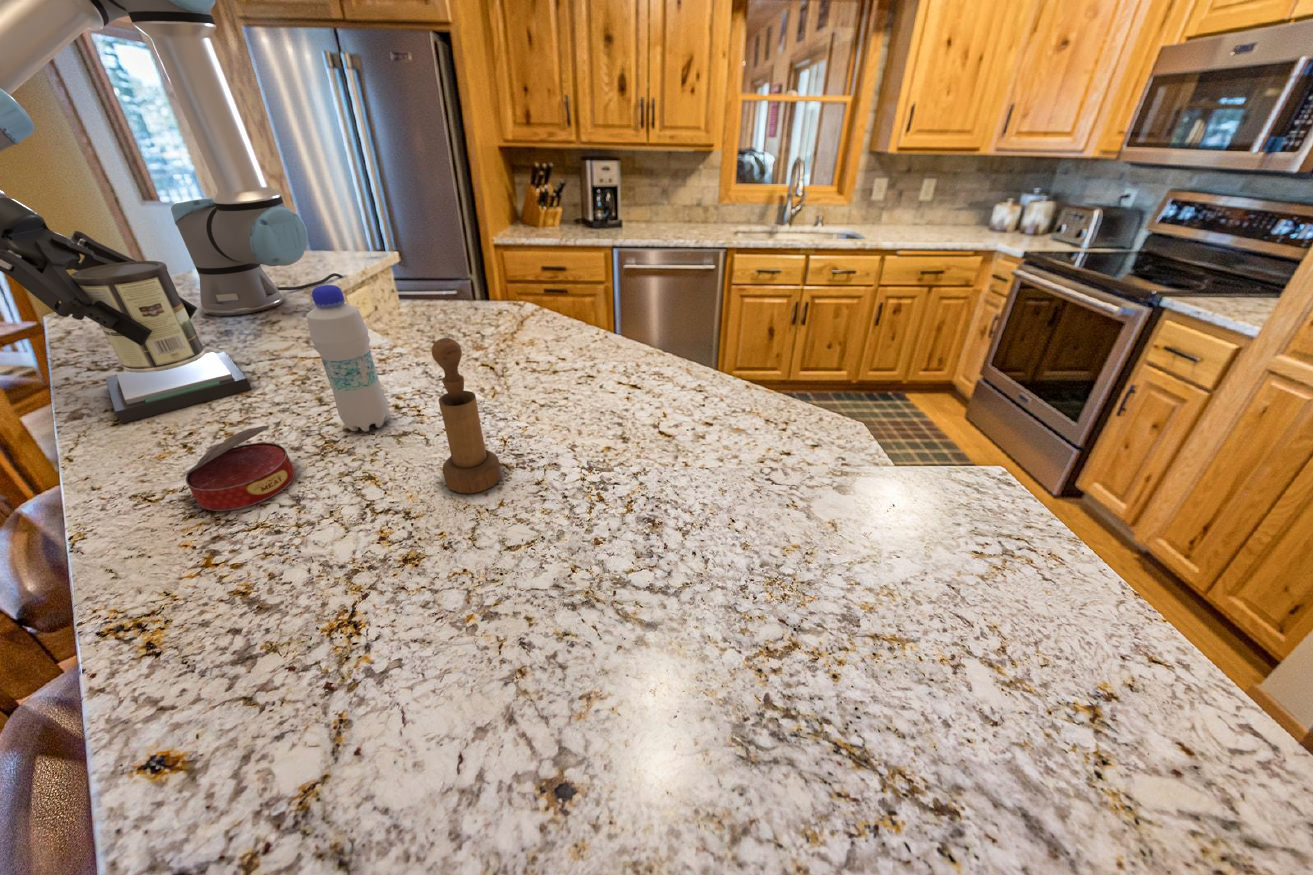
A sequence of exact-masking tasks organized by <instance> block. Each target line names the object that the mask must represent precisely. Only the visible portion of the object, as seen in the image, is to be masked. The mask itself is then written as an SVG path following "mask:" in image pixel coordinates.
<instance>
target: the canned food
mask: <svg viewBox="0 0 1313 875" xmlns="http://www.w3.org/2000/svg"><path fill="white" fill-rule="evenodd" d="M269 428H270V425H261V426H258V427H257V426H256V427H251V428H247V429H244V430H241V431H238V432H237V433H235V434H232V435H230V436H229V437H228V438H227V439H225V440H224V441H223V442H221V443H217V444H213V445H212V447H211V448H209V449H208V450H207V451H206V452H205V453H204V455H202V456H201V457H200V459H199V460H198V462H197V463H196V464H195V465H193V466H192V467H191V468H190V469H188V470H186V471H185V472H183V473H182V475H181V476H179V478H183V477H185V484H186V485H187V486H188V488H189V489H190V491H191V493H192V495H193V497H194V498H195V500H196V502H197V505H198V506H200V507H201V508H202V509H205V510H208V511H213V512H226V511H234V510H241V509H244V508H247V507H251V506H254V505H256V504H260V503H262V502H265V501H267V500H268V499H271V498H273V497H275V496H276V495H279V494H280V493H281V492H282V491H284V490H285V489H286V488H287V487H288V486H290V485H291V483H292V482H293V481H294V478H295V476H296V470H295V469H294V467H293V464H292V462H291V460H290V457H289V455H288V453H287V449H286V448H284V447H283V446H282V445H280V444H278V443H273V442H253V443H247V444H242V443H245V442H246V441H248V440H250V439H252V438H254V437H256V436H257V435H259V434H260V433H263V432H265V431H266V430H268V429H269Z"/></svg>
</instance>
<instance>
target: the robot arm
mask: <svg viewBox="0 0 1313 875" xmlns="http://www.w3.org/2000/svg"><path fill="white" fill-rule="evenodd" d="M215 4H216V0H0V152H2V151H4V150H6V149H8V148H11V147H13V146H14V145H16V146H18V145H19V144H20V143H21V142H22V141H23V140H26V139H27V138H28V137H30V136H32V135H33V134H34V132H35V125H34V122H33V120H32V118H31V116H30V115H29V114H28V112H27V111H26V110H25V109H24V108H23V106H21V105H20V104H19V102H17V100H16V99H15V98H13V97H12V96H11V95H12V94H13V93H14V92H15V91H16V90H18V89H19V88H20V87H21V86H22V85H23V84H25V83H26V82H27V81H28V80H30V79H31V78H32V77H33V76H34V75H35V74H37V73H38V72H39V71H40V70H41V69H42V68H44V66H46V65H47V64H48V63H49V62H50V61H51V60H53V59H54V58H55V57H56V56H58V55H59V54H60V53H61V52H62V51H63V50H65V49H66V48H67V47H68V46H69V45H70V44H71V43H72V42H74V41H75V40H76V39H77V38H78V37H80V36H81V35H82V34H83V33H84V32H85V31H86V30H90V31H94V32H98V31H101V30H102V29H104V28H105V27H106V26H107V25H109V24H110V23H112V22H113V21H116V20H118V19H121V18H125V17H129V19H130V21H131V23H132V26H134V27H135V28H137V29H138V30H139V31H141V32H142V33H143V34H145V35H146V36H148V38H149V39H150V41H151V43H152V46H153V47H154V49H155V51H156V54H157V57H158V59H159V61H160V63H161V65H162V67H163V70H164V72H165V74H166V77H167V79H168V81H169V83H170V86H171V88H172V90H173V93H174V95H175V97H176V99H177V102H178V104H179V106H180V108H181V111H182V113H183V115H184V117H185V119H186V122H187V125H188V127H189V129H190V131H191V133H192V136H193V138H194V140H195V142H196V144H197V147H198V149H199V152H200V153H201V156H202V158H203V160H204V163H205V165H206V167H207V169H208V171H209V174H210V176H211V179H212V181H213V183H214V185H215V187H216V193H215V195H214V196H212V197H207V198H200V199H190V200H184V201H178V202H174V203H172V205H170V206H171V207H170V213H171V215H172V218H173V222H174V225H175V226H176V227H177V229H178V231H179V234H180V236H181V238H182V240H183V243H184V245H185V247H186V249H187V252H188V254H189V256H190V258H191V261H192V263H193V265H194V268H195V269H196V272H197V274H198V277H199V295H200V296H199V298H200V304H201V308H202V310H203V312H204V313H205V314H206V315H209V316H216V317H230V316H241V315H248V314H254V313H258V312H263V311H266V310H270V309H272V308H275V307H277V306H279V305H280V304H281V305H282V303H283V301H284V299H283V296H282V294H281V292H280V291H299V290H303V289H308V288H311V287H316V286H318V285H321V284H324V283H326V282H328V281H329V280H331V279H332V278H333V277H337V278H339V279H342V278H344V276H343V275H342V274H340V273H337V272H335V273H330V274H328V275H327V276H326V277H324V278H323V279H321V280H317V281H314V282H311V283H306V284H302V285H297V286H276V285H275V283H274V282H273V281H272V280H271V279H270V277H269V276H268V275H267V274H266V272H265V271H264V269H263V267H262V265H263V266H267V267H286V266H290V265H293V264H295V263H297V262H299V261H300V260H301V259H302V258H303V256H304V255H305V251H306V250H307V249H308V244H309V234H308V229H307V226H306V224H305V222H304V220H303V219H302V218H301V216H299V214H297V213H295V211H293V210H292V209H291V208H288V207H287V206H286V205H285V203H284V200H283V197H282V195H281V193H280V192H279V191H278V190H277V189H275V188H273V187H272V186H270V185H269V184H268V181H267V179H266V176H265V173H264V172H263V168H262V165H261V164H260V161H259V158H258V156H257V153H256V151H255V148H254V146H253V143H252V141H251V138H250V136H249V133H248V131H247V128H246V125H245V122H244V119H243V118H242V114H241V112H240V110H239V107H238V104H237V102H236V100H235V97H234V93H233V92H232V90H231V86H230V84H229V81H228V79H227V76H226V73H225V71H224V69H223V66H222V64H221V61H220V59H219V58H220V57H218V53H217V51H216V48H215V46H214V44H213V41H212V38H213V35H214V33H215V31H216V29H217V24H216V21H215V19H214V16H213V14H212V11H211V10H212V9H213V8H214V6H215ZM81 256H83V257H82V258H81ZM132 261H136V260H135V259H134V258H131V257H129V256H127V255H125V254H123V253H120V252H119V251H117V250H114V249H113V248H110V247H109V246H106V245H104V244H102V243H100V242H97V241H96V240H95V239H92V238H91V237H90V236H88V235H87V234H85V233H84V232H81V231H79V230H75V231H74V232H73V234H72V235H69V236H65V235H63V234H60V233H58V232H55V231H53V230H52V229H50V228H49V227H48V225H47V223H46V221H45V219H44V217H43V216H41V215H40V214H39V213H37V212H35V211H34V210H32V209H31V208H29V207H27V206H26V205H24V204H23V203H21V202H19V201H17V200H16V199H14V198H10V197H8V195H7V194H6V193H5V192H4V191H2V190H0V272H1V273H3V274H5V275H7V276H9V277H10V278H11V279H13V280H14V281H15V282H16V283H18V284H19V285H20V286H21V287H23V288H24V289H25V290H26V291H27V292H29V293H30V294H32V296H34V297H35V298H36V299H37V300H39V301H41V302H42V303H43V304H44V305H46V307H48V308H49V309H50V310H52V311H53V312H54V313H56V314H57V315H58V316H60V317H62V318H68V317H70V315H71V318H72V319H74V320H78V321H82V320H84V319H85V317H86V318H87V319H90V320H91V321H93V322H95V323H96V324H98V325H99V324H101V325H102V326H104V327H105V328H108V329H112V330H114V331H116V332H117V333H119V334H121V335H123V336H125V337H126V338H128V339H130V340H132V341H133V342H135V343H137V344H139V345H140V346H141V345H143V344H145V342H146V340H147V339H148V337H149V335H150V334H151V332H152V330H150V329H149V328H147V327H145V326H144V325H142V324H140V323H138V322H137V321H135V320H133V319H131V318H130V317H128V316H126V315H125V314H123V313H121V312H119V311H118V310H116V309H114V308H113V307H111V306H109V305H107V304H106V303H104V302H102V301H101V300H99V301H96V302H95V304H94V305H93V304H92V300H91V299H90V298H89V297H88V296H87V294H86V293H85V292H84V291H83V290H82V289H81V287H80V286H79V285H78V284H77V283H76V282H75V281H74V280H73V279H72V277H71V274H70V273H69V272H68V270H69V271H71V270H74V271H76V272H77V271H79V270H83V269H86V268H90V267H96V266H101V265H106V264H113V263H121V262H132ZM179 297H180V299H181V301H182V303H183V306H184V308H185V310H186V312H187V314H188V316H189V318H190V320H191V319H192V318H193V316H194V315H195V313H196V312H197V310H198V306H195V305H194V304H192V303H191V302H189V301H187V300H186V299H184V298H182V297H181V296H179Z"/></svg>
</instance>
